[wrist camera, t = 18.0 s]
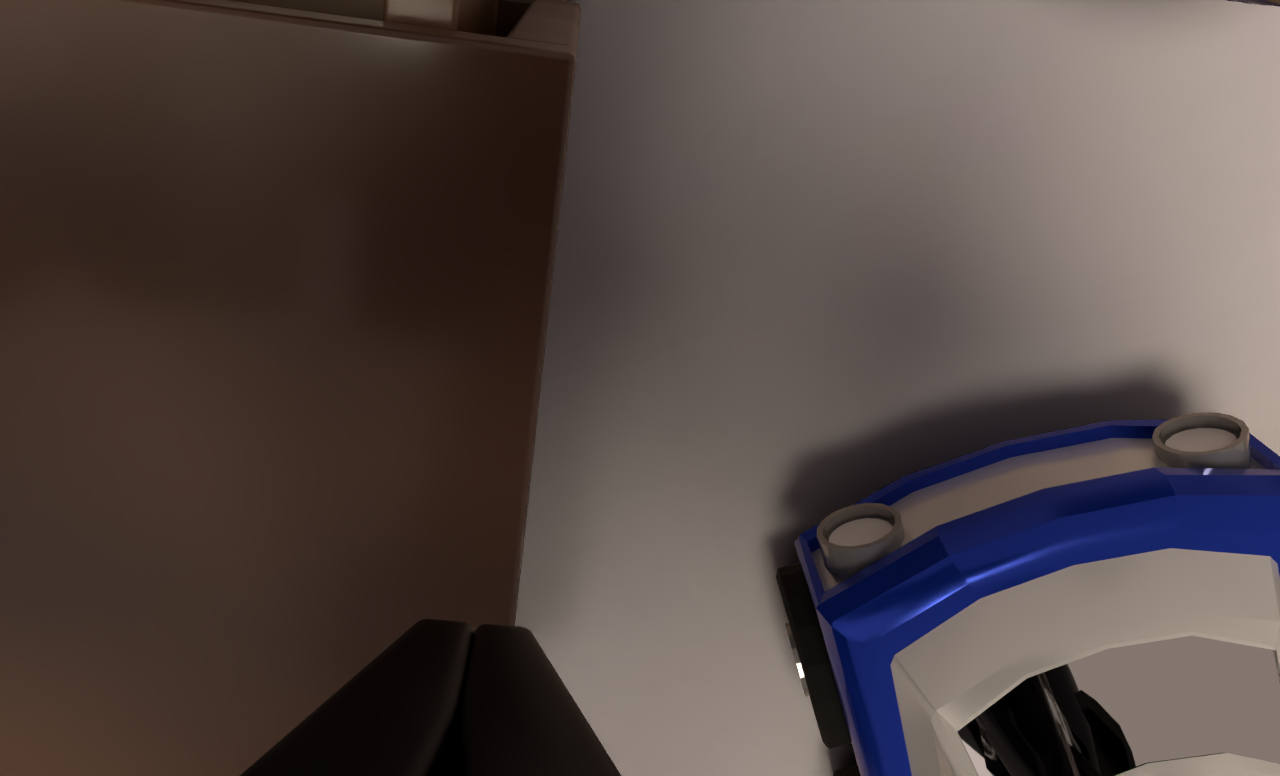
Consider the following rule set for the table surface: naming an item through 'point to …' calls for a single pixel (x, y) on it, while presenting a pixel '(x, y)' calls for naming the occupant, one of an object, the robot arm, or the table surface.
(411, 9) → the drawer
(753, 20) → the table surface
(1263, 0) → the pill bottle
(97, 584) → the cabinet
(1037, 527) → the toy car
